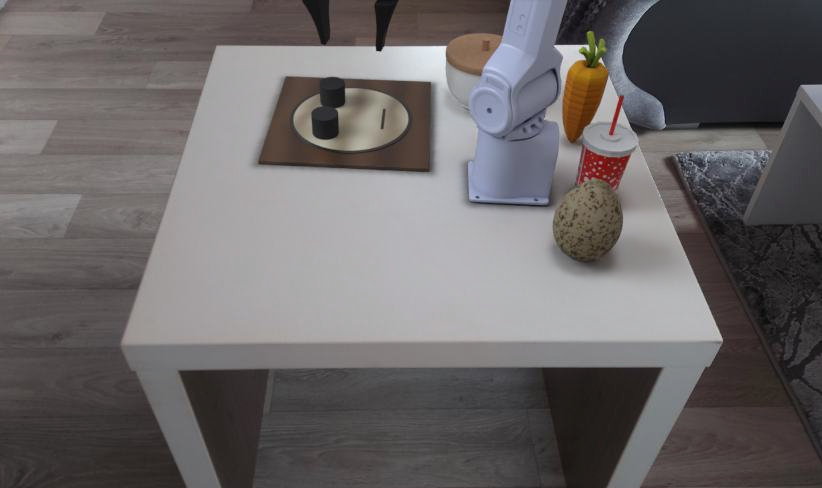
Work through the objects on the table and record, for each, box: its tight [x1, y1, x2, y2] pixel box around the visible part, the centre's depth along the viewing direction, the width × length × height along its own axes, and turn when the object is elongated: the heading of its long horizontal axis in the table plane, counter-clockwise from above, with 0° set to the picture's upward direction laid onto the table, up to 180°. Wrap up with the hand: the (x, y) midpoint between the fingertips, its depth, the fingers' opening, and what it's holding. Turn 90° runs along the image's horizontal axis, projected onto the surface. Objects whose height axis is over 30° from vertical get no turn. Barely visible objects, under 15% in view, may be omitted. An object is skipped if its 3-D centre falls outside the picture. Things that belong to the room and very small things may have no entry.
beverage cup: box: [574, 94, 640, 194], centre depth 79 cm, size 6×6×14 cm
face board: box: [257, 75, 432, 173], centre depth 97 cm, size 22×22×1 cm
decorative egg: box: [552, 179, 624, 262], centre depth 74 cm, size 7×7×10 cm
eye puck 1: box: [319, 76, 345, 108], centre depth 98 cm, size 4×4×3 cm
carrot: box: [561, 30, 610, 144], centre depth 88 cm, size 5×5×15 cm
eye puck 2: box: [311, 106, 339, 140], centre depth 93 cm, size 4×4×3 cm
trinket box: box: [444, 32, 503, 111], centre depth 98 cm, size 11×11×9 cm
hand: (352, 44), depth 93 cm, fingers open, 7 cm apart
